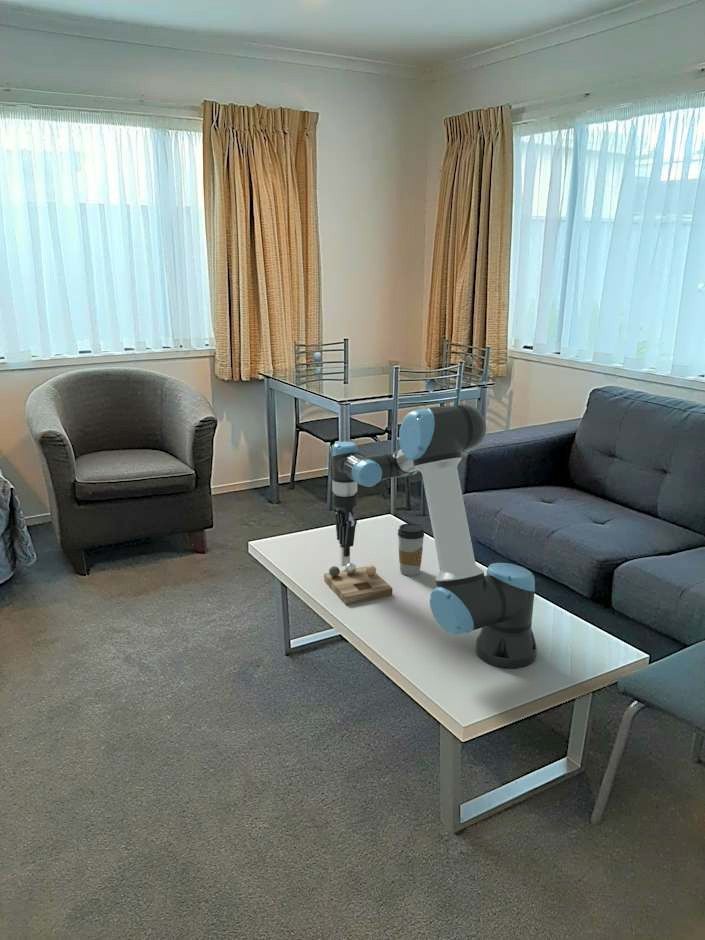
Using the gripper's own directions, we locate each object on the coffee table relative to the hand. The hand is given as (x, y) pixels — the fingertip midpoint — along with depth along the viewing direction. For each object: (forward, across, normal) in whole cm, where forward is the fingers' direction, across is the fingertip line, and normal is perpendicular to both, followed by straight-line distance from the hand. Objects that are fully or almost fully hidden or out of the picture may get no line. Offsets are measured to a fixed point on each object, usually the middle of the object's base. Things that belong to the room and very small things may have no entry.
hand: (345, 564), depth 232 cm
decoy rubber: (0, -4, +5) cm, 7 cm away
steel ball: (0, -4, 0) cm, 4 cm away
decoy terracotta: (0, -8, -5) cm, 10 cm away
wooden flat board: (+4, -10, 0) cm, 11 cm away
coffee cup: (+4, -5, -20) cm, 21 cm away
